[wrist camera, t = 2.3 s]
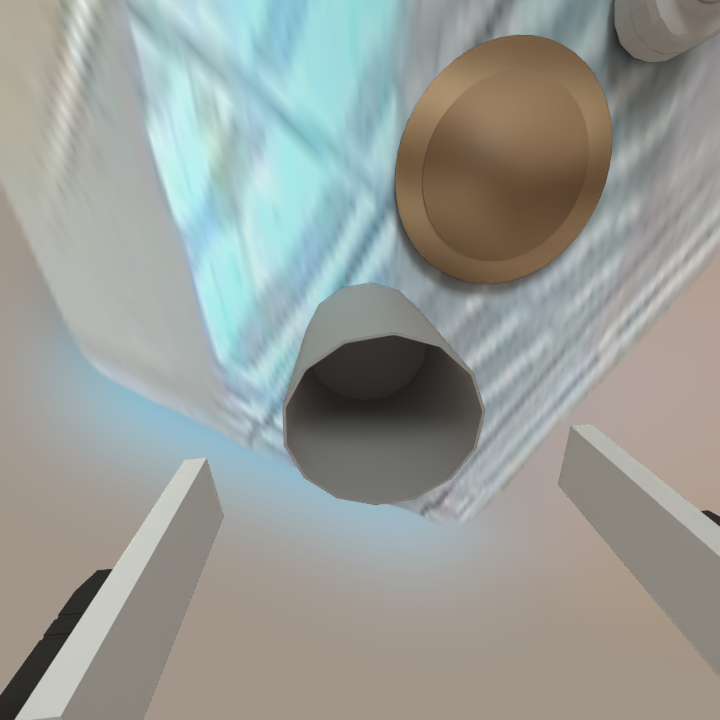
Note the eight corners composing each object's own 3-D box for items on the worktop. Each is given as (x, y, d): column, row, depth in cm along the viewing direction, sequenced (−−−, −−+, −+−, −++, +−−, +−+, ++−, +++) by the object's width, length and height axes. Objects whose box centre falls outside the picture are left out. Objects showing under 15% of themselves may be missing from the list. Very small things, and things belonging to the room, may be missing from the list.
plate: (392, 49, 17) (395, 39, 16) (625, 36, 17) (641, 26, 16) (396, 288, 21) (399, 291, 21) (578, 274, 22) (588, 277, 21)
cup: (445, 303, 22) (519, 364, 13) (404, 407, 25) (441, 516, 16) (321, 268, 21) (305, 307, 12) (293, 381, 24) (264, 485, 15)
